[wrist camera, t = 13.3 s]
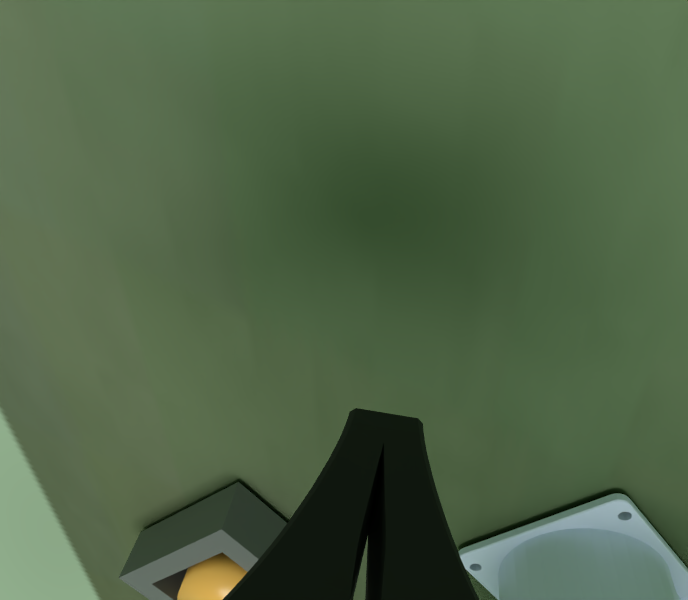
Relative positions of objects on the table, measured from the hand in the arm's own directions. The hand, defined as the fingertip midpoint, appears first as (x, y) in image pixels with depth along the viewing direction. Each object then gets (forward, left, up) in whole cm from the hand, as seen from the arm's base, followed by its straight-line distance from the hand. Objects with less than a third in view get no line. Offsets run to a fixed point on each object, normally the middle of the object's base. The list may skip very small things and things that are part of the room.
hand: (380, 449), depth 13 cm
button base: (-9, +17, -9) cm, 21 cm away
